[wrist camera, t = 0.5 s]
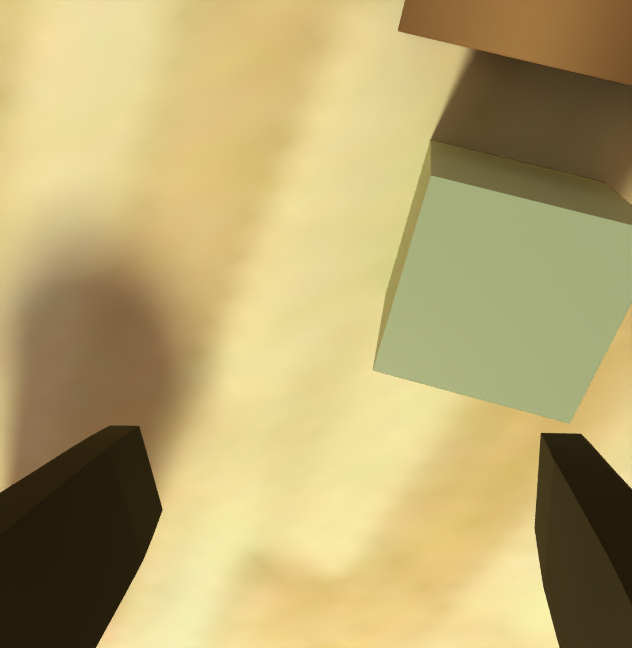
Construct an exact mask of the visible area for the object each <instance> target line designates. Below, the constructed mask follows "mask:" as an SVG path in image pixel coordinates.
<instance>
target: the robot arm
mask: <svg viewBox="0 0 632 648" xmlns="http://www.w3.org/2000/svg"><path fill="white" fill-rule="evenodd" d="M162 510H163V509H162V506H161V502H160V499H159V495H158V491H157V488H156V484H155V481H154V477H153V474H152V470H151V467H150V463H149V459H148V456H147V452H146V449H145V445H144V442H143V438H142V434H141V431H140V427H139V426H108V427H107V428H105V429H103V430H101V431H99V432H97V433H95V434H94V435H92V436H90V437H88V438H87V439H85V440H83V441H82V442H80V443H78V444H77V445H75V446H74V447H72V448H70V449H69V450H67V451H66V452H64V453H62V454H61V455H59V456H58V457H56V458H55V459H53V460H51V461H50V462H48V463H47V464H45V465H44V466H42V467H40V468H39V469H37V470H36V471H34V472H32V473H31V474H29V475H28V476H26V477H25V478H23V479H21V480H20V481H18V482H17V483H15V484H13V485H12V486H10V487H9V488H7V489H5V490H4V491H2V492H1V493H0V648H96V646H97V645H98V643H99V641H100V639H101V637H102V635H103V634H104V632H105V630H106V628H107V626H108V625H109V623H110V621H111V619H112V617H113V615H114V614H115V612H116V610H117V608H118V606H119V605H120V603H121V601H122V599H123V597H124V595H125V593H126V592H127V590H128V588H129V586H130V584H131V582H132V580H133V579H134V577H135V575H136V573H137V571H138V569H139V567H140V565H141V563H142V561H143V559H144V557H145V555H146V552H147V550H148V547H149V545H150V542H151V540H152V537H153V535H154V532H155V529H156V526H157V524H158V521H159V518H160V515H161V513H162ZM535 534H536V541H537V548H538V555H539V562H540V568H541V575H542V581H543V587H544V591H545V595H546V599H547V602H548V606H549V610H550V614H551V617H552V621H553V625H554V629H555V632H556V636H557V640H558V644H559V647H560V648H632V489H631V488H630V487H629V486H628V484H627V483H626V482H625V481H624V480H623V479H622V478H621V477H620V476H619V475H618V474H617V473H616V471H615V470H614V469H613V468H612V467H611V466H610V465H609V464H608V463H607V461H606V460H605V459H604V458H603V457H602V456H601V455H600V454H599V453H598V451H597V450H596V449H595V448H594V447H593V446H592V445H591V444H590V442H589V441H588V440H587V439H586V438H585V437H584V436H583V435H582V434H566V433H541V440H540V455H539V469H538V484H537V499H536V514H535Z"/></svg>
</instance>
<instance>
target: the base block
mask: <svg viewBox="0 0 632 648" xmlns="http://www.w3.org/2000/svg"><path fill="white" fill-rule="evenodd" d="M398 31H400V32H404V33H408V34H412V35H417V36H421V37H425V38H430V39H434V40H438V41H442V42H447V43H451V44H455V45H460V46H464V47H468V48H472V49H477V50H481V51H485V52H490V53H494V54H498V55H502V56H507V57H511V58H515V59H519V60H524V61H528V62H532V63H537V64H541V65H545V66H549V67H554V68H558V69H562V70H567V71H571V72H575V73H579V74H584V75H588V76H592V77H597V78H601V79H605V80H609V81H614V82H618V83H622V84H627V85H631V86H632V0H405V3H404V7H403V11H402V16H401V20H400V24H399V28H398Z"/></svg>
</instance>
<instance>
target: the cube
mask: <svg viewBox="0 0 632 648" xmlns="http://www.w3.org/2000/svg"><path fill="white" fill-rule="evenodd" d="M631 303H632V205H631V204H630V203H629V202H628V201H626V200H625V199H624V198H623V197H621V196H620V195H619V194H618V193H617V192H615V191H614V190H613V189H612V188H610V187H609V186H608V185H607V184H606V183H604V182H601V181H597V180H593V179H589V178H585V177H581V176H577V175H573V174H569V173H565V172H560V171H556V170H552V169H548V168H544V167H540V166H536V165H532V164H528V163H524V162H520V161H515V160H511V159H507V158H503V157H499V156H495V155H491V154H487V153H483V152H479V151H475V150H470V149H466V148H462V147H458V146H454V145H450V144H446V143H442V142H438V141H434V140H430V143H429V146H428V150H427V153H426V157H425V160H424V164H423V167H422V171H421V174H420V178H419V181H418V184H417V188H416V191H415V195H414V198H413V202H412V205H411V209H410V212H409V215H408V219H407V222H406V226H405V229H404V233H403V236H402V240H401V243H400V247H399V250H398V253H397V257H396V260H395V264H394V267H393V271H392V274H391V278H390V281H389V285H388V288H387V291H386V295H385V301H384V307H383V313H382V319H381V325H380V330H379V336H378V342H377V348H376V354H375V360H374V366H373V371H377V372H380V373H384V374H388V375H391V376H395V377H399V378H402V379H406V380H410V381H413V382H417V383H421V384H425V385H428V386H432V387H436V388H439V389H443V390H447V391H450V392H454V393H458V394H461V395H465V396H469V397H473V398H476V399H480V400H484V401H487V402H491V403H495V404H498V405H502V406H506V407H509V408H513V409H517V410H521V411H524V412H528V413H532V414H535V415H539V416H543V417H546V418H550V419H554V420H557V421H561V422H565V423H569V424H570V422H571V420H572V418H573V416H574V414H575V412H576V410H577V408H578V407H579V405H580V403H581V401H582V399H583V397H584V395H585V393H586V391H587V389H588V387H589V385H590V383H591V381H592V379H593V377H594V375H595V373H596V372H597V370H598V368H599V366H600V364H601V362H602V360H603V358H604V356H605V354H606V352H607V350H608V348H609V346H610V344H611V342H612V340H613V338H614V336H615V335H616V333H617V331H618V329H619V327H620V325H621V323H622V321H623V319H624V317H625V315H626V313H627V311H628V309H629V307H630V305H631Z"/></svg>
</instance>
